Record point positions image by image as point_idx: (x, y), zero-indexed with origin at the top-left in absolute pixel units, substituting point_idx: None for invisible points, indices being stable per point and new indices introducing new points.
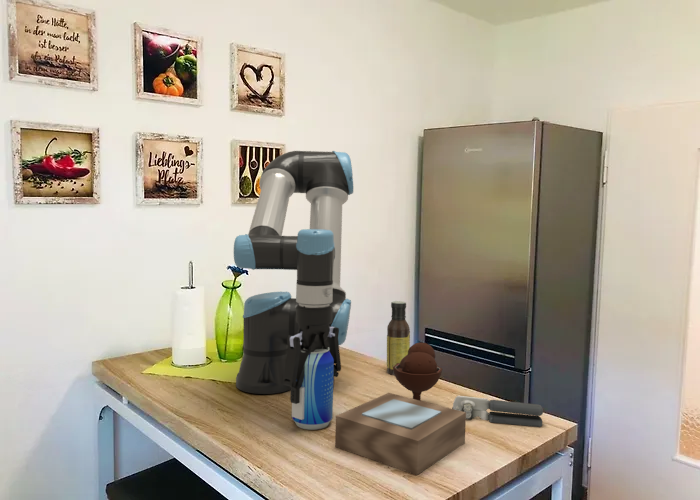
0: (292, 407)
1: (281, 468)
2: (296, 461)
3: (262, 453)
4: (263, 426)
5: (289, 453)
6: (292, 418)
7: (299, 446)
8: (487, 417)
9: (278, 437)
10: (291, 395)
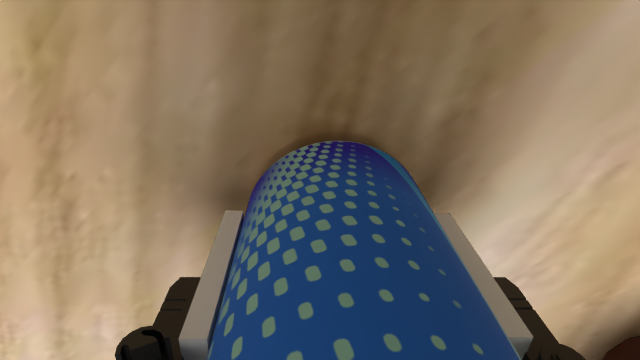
0: (215, 241)
1: (10, 339)
2: (74, 340)
3: (7, 247)
4: (158, 71)
5: (88, 301)
6: (265, 172)
7: (148, 292)
8: None
9: (137, 200)
10: (160, 317)
